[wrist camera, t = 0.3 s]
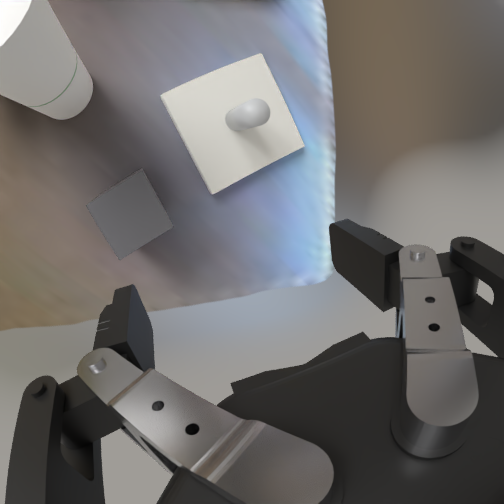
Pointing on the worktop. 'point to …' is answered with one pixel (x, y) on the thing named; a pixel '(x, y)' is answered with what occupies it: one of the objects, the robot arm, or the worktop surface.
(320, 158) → the worktop surface
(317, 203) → the worktop surface
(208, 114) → the stud plate
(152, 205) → the tall grey pillar
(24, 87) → the cylindrical container
